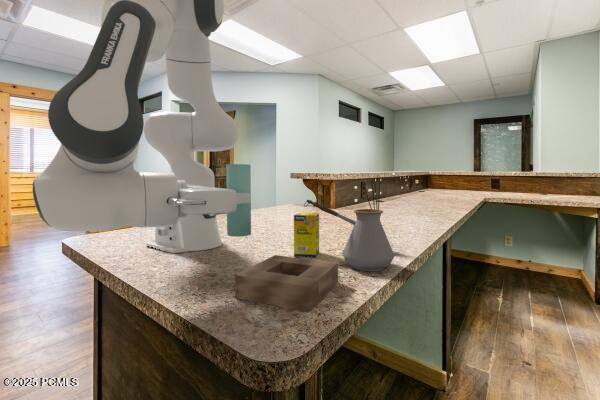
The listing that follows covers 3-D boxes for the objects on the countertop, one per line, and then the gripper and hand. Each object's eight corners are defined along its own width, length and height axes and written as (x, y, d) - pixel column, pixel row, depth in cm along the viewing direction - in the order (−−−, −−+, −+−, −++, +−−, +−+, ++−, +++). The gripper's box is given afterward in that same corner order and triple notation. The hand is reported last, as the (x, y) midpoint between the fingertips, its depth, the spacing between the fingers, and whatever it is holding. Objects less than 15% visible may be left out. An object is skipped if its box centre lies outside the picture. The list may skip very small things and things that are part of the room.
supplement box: (316, 258, 78) (316, 215, 77) (293, 257, 79) (293, 214, 78) (319, 252, 83) (319, 212, 82) (298, 251, 85) (297, 211, 84)
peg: (222, 235, 56) (221, 164, 55) (235, 231, 60) (234, 165, 59) (243, 237, 55) (242, 164, 54) (255, 233, 59) (254, 165, 58)
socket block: (235, 297, 53) (234, 274, 53) (275, 273, 66) (275, 255, 65) (309, 312, 47) (309, 286, 47) (338, 282, 60) (338, 262, 59)
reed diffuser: (381, 255, 79) (382, 178, 78) (355, 252, 83) (356, 178, 81) (390, 247, 88) (391, 177, 87) (366, 244, 92) (367, 177, 90)
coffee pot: (396, 262, 73) (398, 199, 72) (390, 277, 63) (391, 204, 62) (313, 253, 82) (313, 197, 81) (295, 265, 71) (295, 201, 70)
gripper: (173, 180, 41) (266, 180, 48) (155, 179, 59) (226, 179, 66) (174, 227, 42) (267, 220, 49) (156, 212, 59) (227, 208, 66)
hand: (243, 196), depth 57 cm, fingers closed on peg, 4 cm apart
